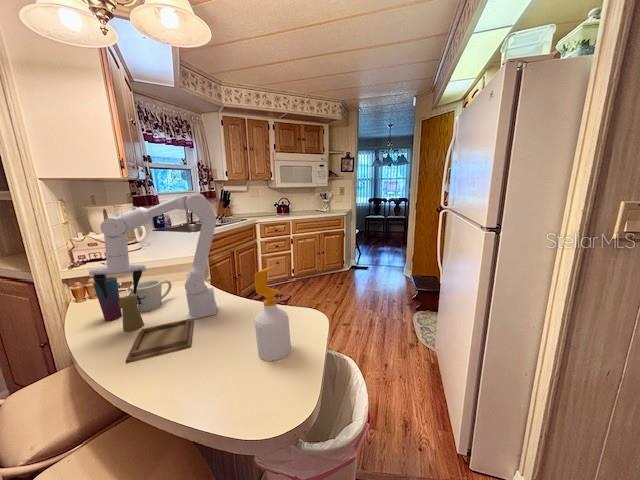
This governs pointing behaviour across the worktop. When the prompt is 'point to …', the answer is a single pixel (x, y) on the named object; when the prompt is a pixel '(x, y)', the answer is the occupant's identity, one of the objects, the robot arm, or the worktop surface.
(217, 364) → the worktop surface
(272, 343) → the soap bottle
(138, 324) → the olive-green waisted figurine
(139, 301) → the mug
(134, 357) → the spice tray
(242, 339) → the worktop surface
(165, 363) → the worktop surface
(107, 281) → the cup
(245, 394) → the worktop surface
